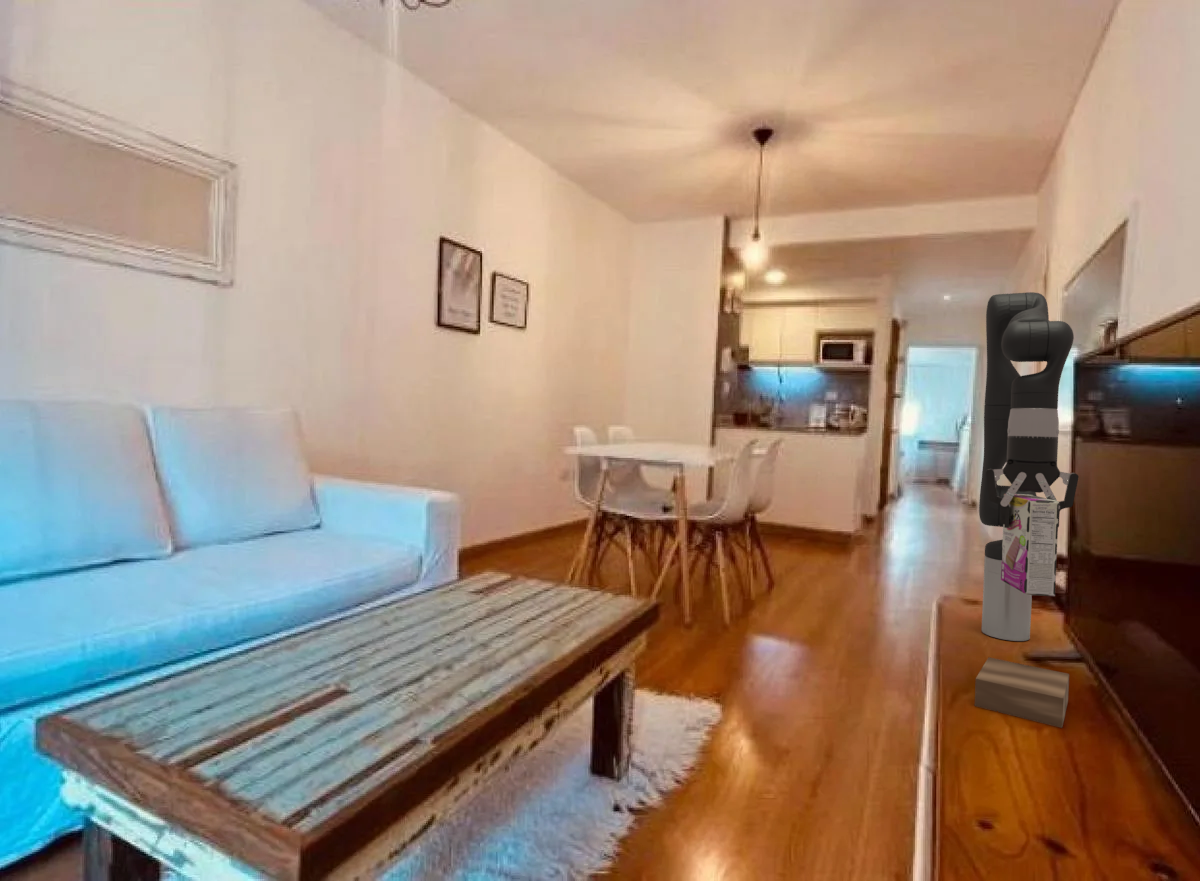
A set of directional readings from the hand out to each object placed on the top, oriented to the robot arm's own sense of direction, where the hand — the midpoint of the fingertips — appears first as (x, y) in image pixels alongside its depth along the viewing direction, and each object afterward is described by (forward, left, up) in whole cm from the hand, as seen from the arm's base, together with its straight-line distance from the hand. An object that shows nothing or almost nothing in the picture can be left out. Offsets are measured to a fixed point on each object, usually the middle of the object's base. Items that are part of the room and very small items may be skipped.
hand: (1028, 529), depth 118 cm
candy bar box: (0, 0, -11) cm, 11 cm away
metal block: (+8, 0, -29) cm, 30 cm away
